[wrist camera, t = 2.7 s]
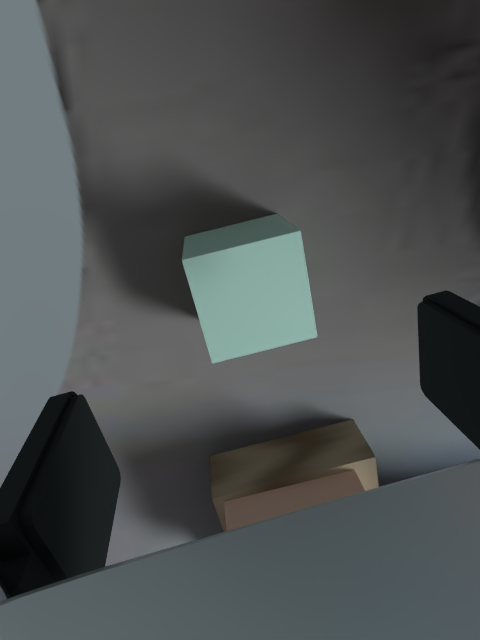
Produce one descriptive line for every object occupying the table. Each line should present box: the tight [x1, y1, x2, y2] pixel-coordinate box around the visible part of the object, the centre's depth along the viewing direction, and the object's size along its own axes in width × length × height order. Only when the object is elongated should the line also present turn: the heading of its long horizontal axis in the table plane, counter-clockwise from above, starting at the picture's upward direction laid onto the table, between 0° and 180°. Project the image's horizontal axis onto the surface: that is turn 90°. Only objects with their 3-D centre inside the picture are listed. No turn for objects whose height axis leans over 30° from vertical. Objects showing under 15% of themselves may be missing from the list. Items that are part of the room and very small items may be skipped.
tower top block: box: [224, 470, 365, 531], centre depth 23 cm, size 8×8×4 cm
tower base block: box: [210, 419, 379, 532], centre depth 27 cm, size 10×10×4 cm
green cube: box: [182, 214, 317, 363], centre depth 19 cm, size 5×5×5 cm
